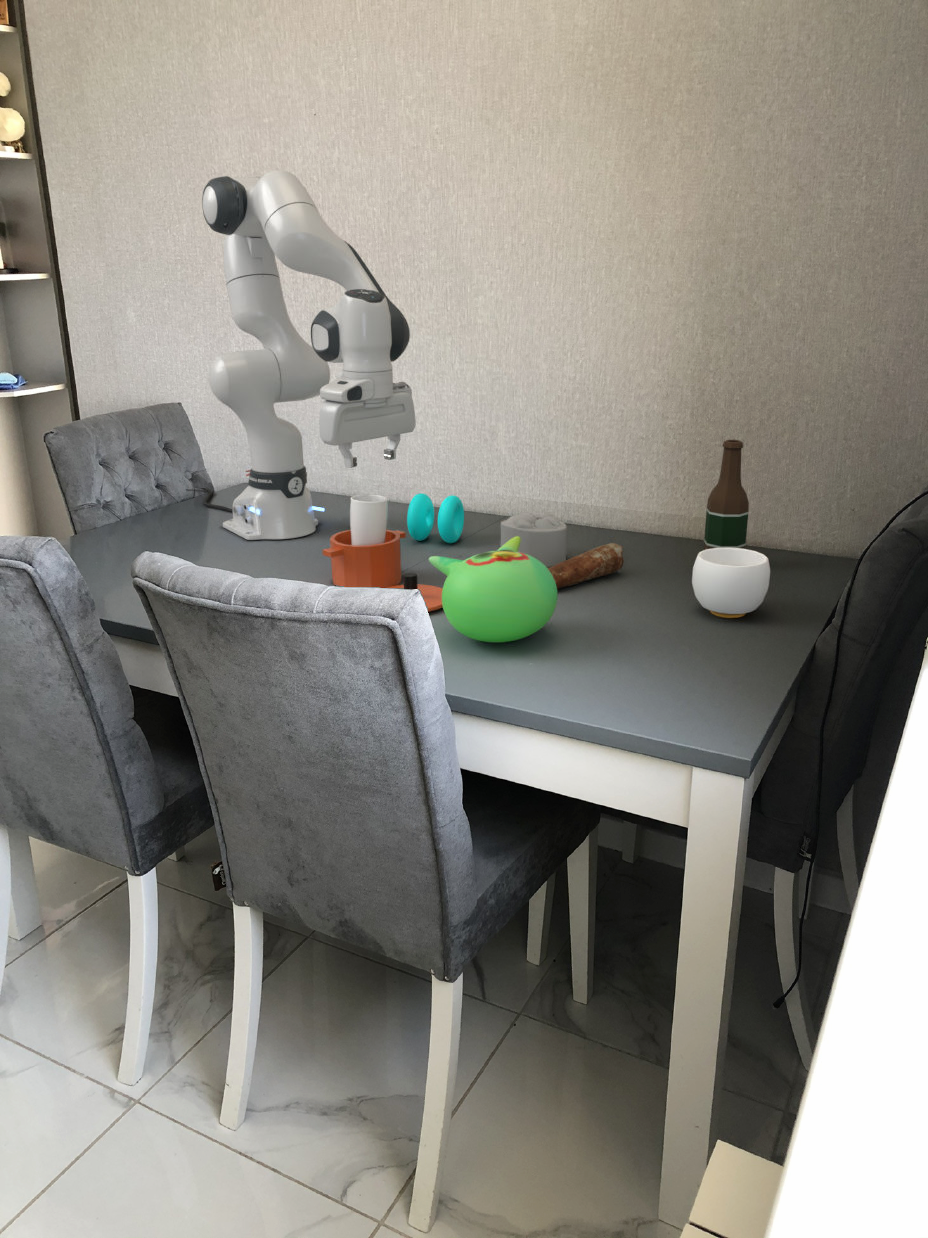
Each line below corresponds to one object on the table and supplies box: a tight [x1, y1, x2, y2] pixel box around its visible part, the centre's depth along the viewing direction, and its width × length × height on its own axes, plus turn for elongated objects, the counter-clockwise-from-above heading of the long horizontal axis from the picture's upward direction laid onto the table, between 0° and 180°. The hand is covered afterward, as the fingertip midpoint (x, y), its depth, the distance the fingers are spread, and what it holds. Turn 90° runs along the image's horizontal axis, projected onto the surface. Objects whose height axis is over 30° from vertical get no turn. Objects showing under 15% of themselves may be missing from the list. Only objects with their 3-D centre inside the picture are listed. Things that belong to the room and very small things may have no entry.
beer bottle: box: [702, 439, 750, 551], centre depth 182 cm, size 8×8×24 cm
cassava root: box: [547, 542, 625, 590], centre depth 177 cm, size 6×19×6 cm, turn 128°
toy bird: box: [428, 536, 558, 643], centre depth 149 cm, size 18×17×15 cm
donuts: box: [406, 493, 465, 544], centre depth 203 cm, size 10×10×10 cm
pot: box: [322, 528, 407, 588], centre depth 178 cm, size 13×18×8 cm
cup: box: [691, 548, 771, 619], centre depth 160 cm, size 12×12×10 cm
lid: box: [387, 572, 443, 612], centre depth 167 cm, size 14×14×5 cm
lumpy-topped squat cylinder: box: [500, 511, 568, 568], centre depth 190 cm, size 10×13×9 cm
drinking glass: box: [349, 494, 389, 545], centre depth 177 cm, size 7×7×15 cm
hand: (370, 463), depth 177 cm, fingers open, 8 cm apart
